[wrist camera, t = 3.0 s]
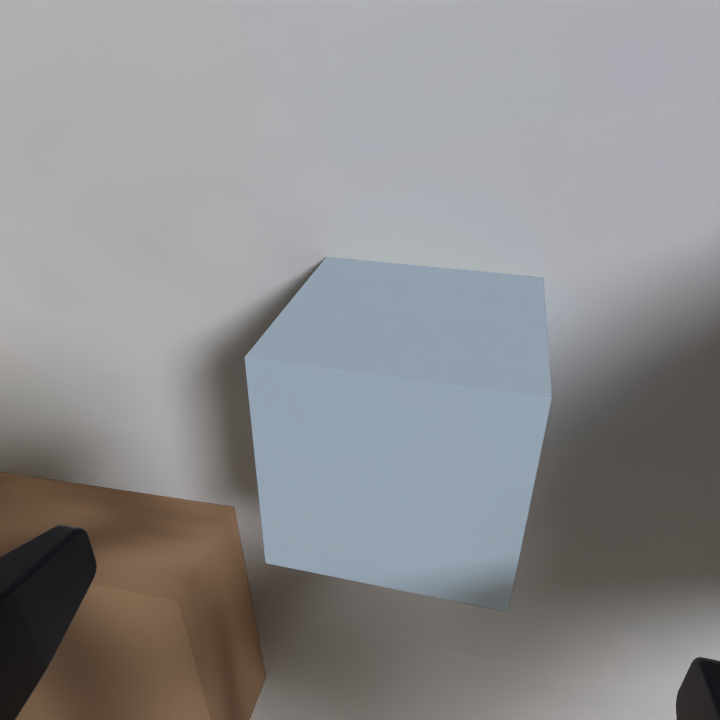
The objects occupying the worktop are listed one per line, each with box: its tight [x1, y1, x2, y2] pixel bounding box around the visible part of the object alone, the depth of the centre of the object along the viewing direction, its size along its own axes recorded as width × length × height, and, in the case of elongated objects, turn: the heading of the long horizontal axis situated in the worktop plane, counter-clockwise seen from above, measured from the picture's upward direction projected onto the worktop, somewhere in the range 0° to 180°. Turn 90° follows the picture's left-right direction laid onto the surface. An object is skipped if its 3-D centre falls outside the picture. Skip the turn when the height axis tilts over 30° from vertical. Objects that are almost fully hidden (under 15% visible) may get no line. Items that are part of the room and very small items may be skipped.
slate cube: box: [245, 257, 552, 612], centre depth 13 cm, size 5×5×5 cm
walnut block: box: [0, 472, 266, 720], centre depth 21 cm, size 9×9×4 cm
